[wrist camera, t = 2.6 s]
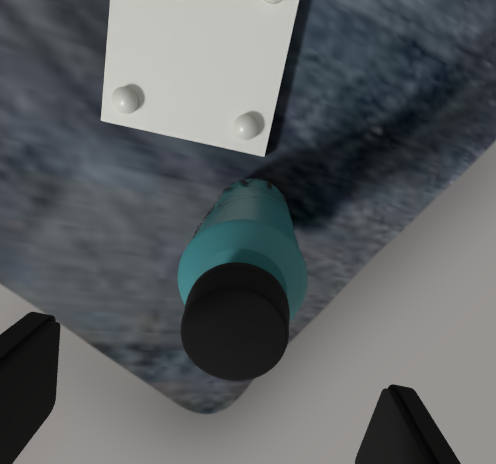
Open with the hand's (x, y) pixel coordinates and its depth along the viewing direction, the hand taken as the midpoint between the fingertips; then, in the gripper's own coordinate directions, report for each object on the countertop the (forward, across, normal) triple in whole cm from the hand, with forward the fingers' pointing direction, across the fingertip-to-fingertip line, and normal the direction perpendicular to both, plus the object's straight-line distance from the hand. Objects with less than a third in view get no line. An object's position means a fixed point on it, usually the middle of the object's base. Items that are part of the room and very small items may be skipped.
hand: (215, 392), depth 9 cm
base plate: (+22, +6, -13) cm, 26 cm away
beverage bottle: (+22, 0, -1) cm, 22 cm away
